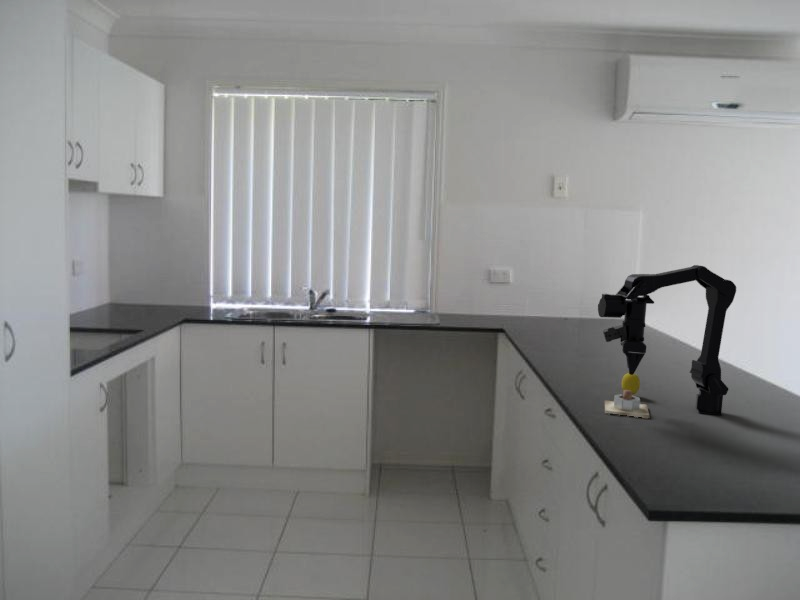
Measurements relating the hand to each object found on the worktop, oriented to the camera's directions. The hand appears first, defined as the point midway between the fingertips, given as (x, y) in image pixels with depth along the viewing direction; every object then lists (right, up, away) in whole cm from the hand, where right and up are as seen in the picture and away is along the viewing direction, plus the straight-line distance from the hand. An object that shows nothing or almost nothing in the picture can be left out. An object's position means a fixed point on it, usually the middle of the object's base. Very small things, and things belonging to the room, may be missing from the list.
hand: (630, 371), depth 210 cm
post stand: (-1, -12, +1) cm, 12 cm away
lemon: (+6, -10, +19) cm, 22 cm away
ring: (-1, -11, +1) cm, 11 cm away
